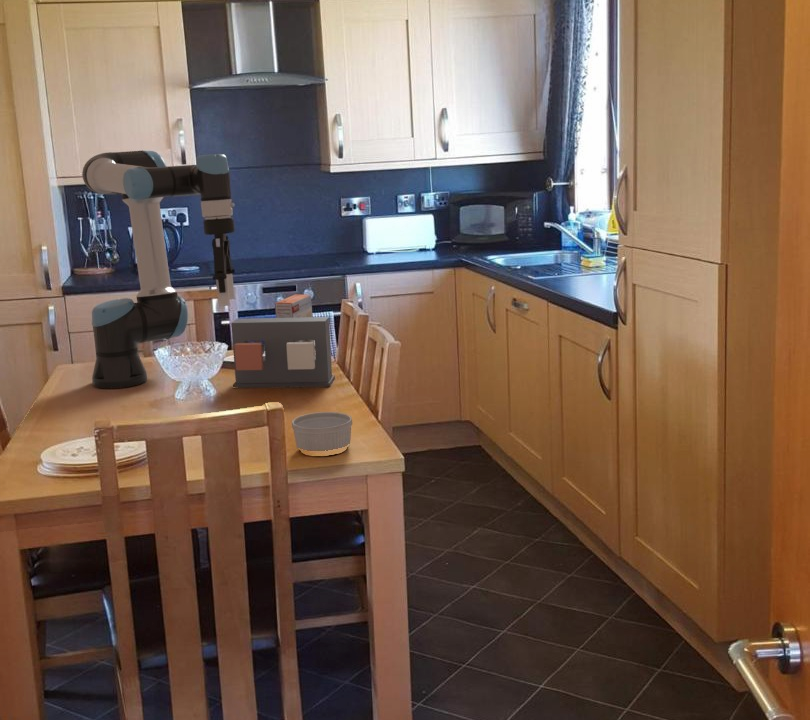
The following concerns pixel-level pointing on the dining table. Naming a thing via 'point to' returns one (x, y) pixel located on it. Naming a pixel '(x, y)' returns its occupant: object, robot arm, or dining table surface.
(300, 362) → the cream button
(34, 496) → the dining table surface
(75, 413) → the dining table surface
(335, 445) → the ramekin
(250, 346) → the brick button
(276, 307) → the cracker box
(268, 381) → the box
